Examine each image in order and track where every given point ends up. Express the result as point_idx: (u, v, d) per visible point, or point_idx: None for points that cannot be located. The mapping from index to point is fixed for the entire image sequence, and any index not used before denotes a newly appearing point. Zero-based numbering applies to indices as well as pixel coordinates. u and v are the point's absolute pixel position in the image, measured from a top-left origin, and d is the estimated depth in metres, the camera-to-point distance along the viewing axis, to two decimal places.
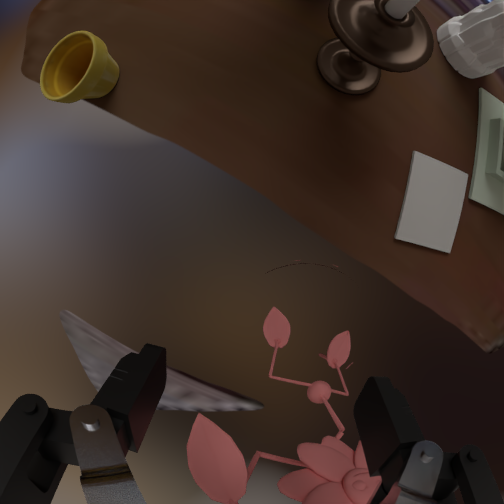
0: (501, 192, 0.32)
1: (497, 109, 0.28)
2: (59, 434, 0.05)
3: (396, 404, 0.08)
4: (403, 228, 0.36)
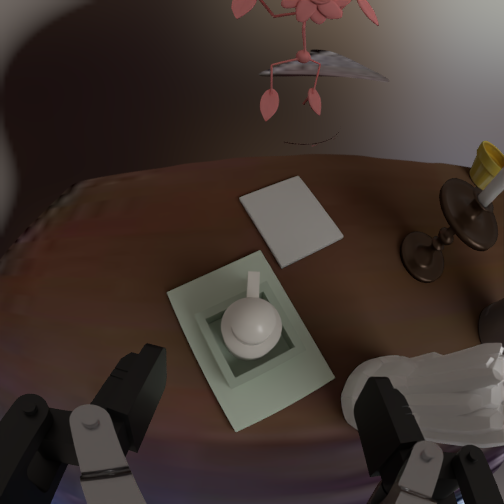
0: (220, 295, 0.36)
1: (297, 381, 0.32)
2: (59, 434, 0.05)
3: (396, 404, 0.08)
4: (299, 184, 0.45)
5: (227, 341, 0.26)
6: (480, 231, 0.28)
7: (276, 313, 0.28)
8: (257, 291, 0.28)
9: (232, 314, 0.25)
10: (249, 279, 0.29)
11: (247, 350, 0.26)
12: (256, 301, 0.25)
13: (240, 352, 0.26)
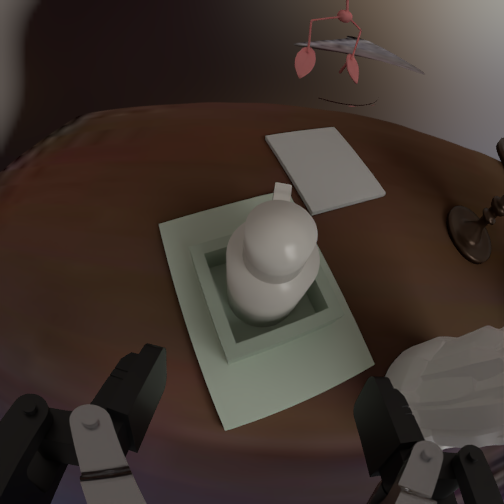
0: (229, 234, 0.27)
1: (324, 364, 0.22)
2: (59, 434, 0.05)
3: (396, 404, 0.08)
4: (336, 134, 0.36)
5: (233, 272, 0.17)
6: None
7: None
8: None
9: (249, 218, 0.15)
10: (276, 191, 0.20)
11: (263, 290, 0.17)
12: (288, 205, 0.16)
13: (252, 292, 0.17)
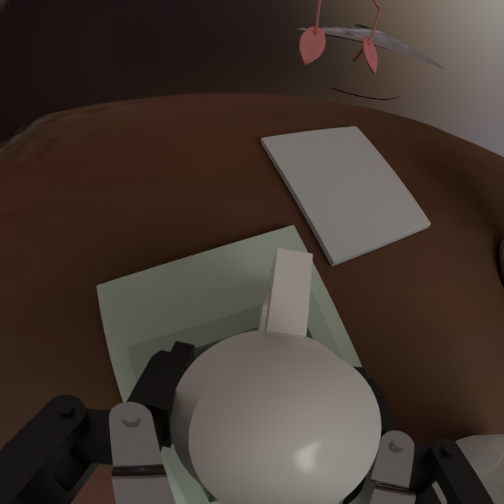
0: (200, 307, 0.16)
1: None
2: (94, 438, 0.05)
3: None
4: (359, 136, 0.26)
5: (186, 460, 0.06)
6: None
7: None
8: (302, 314, 0.08)
9: (200, 412, 0.05)
10: (279, 273, 0.09)
11: None
12: (313, 363, 0.05)
13: None
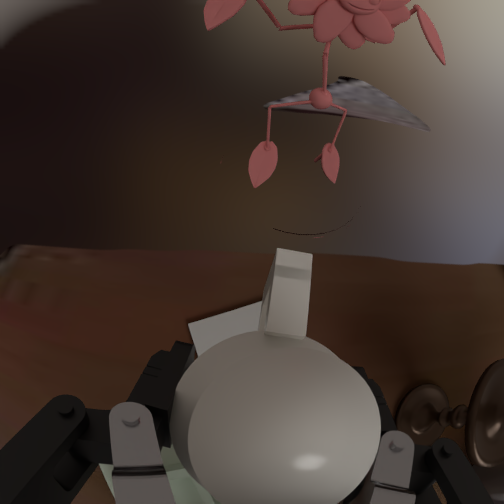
0: None
1: None
2: (94, 438, 0.05)
3: None
4: None
5: (185, 461, 0.06)
6: (501, 438, 0.13)
7: None
8: (302, 315, 0.08)
9: (199, 413, 0.05)
10: (279, 273, 0.09)
11: None
12: (313, 364, 0.05)
13: None
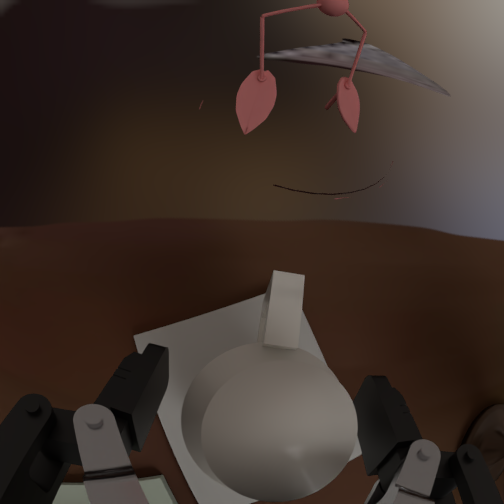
0: None
1: None
2: (62, 434, 0.05)
3: (393, 403, 0.08)
4: None
5: (195, 455, 0.08)
6: None
7: None
8: (294, 329, 0.10)
9: (210, 413, 0.06)
10: (275, 293, 0.10)
11: None
12: (301, 374, 0.07)
13: None
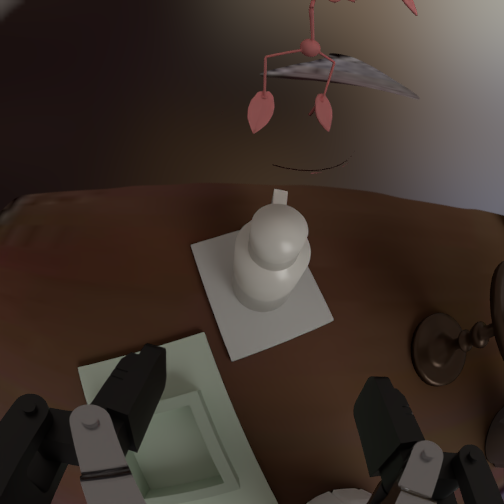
0: None
1: None
2: (59, 434, 0.05)
3: (396, 404, 0.08)
4: None
5: (241, 261, 0.21)
6: None
7: None
8: None
9: (254, 217, 0.20)
10: (275, 196, 0.24)
11: (265, 275, 0.21)
12: (285, 208, 0.20)
13: (256, 277, 0.21)
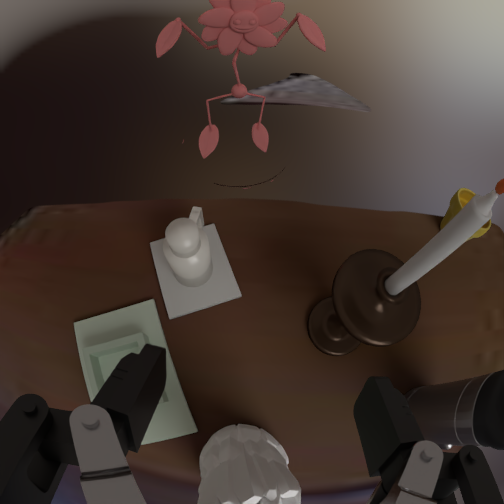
0: (111, 334, 0.36)
1: (162, 425, 0.31)
2: (59, 434, 0.05)
3: (396, 404, 0.08)
4: (212, 233, 0.45)
5: (164, 252, 0.35)
6: (386, 321, 0.27)
7: (206, 238, 0.36)
8: (195, 220, 0.37)
9: (168, 226, 0.33)
10: (192, 211, 0.37)
11: (177, 260, 0.34)
12: (187, 220, 0.34)
13: (171, 261, 0.34)
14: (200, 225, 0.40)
